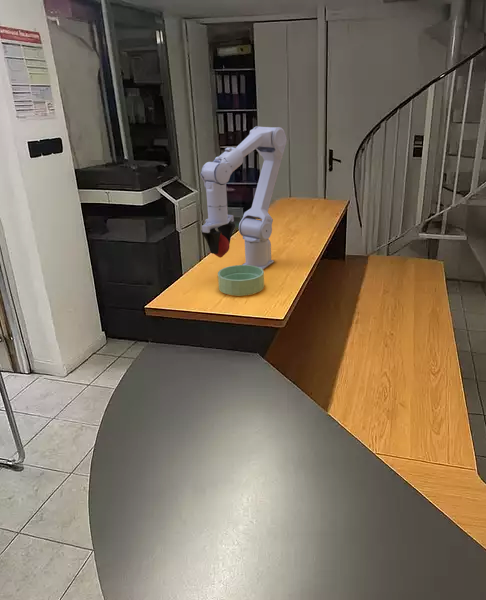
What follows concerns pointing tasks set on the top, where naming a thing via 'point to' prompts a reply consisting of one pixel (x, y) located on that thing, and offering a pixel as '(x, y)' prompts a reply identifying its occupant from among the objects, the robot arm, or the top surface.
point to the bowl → (241, 280)
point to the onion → (223, 246)
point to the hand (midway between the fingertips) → (220, 250)
